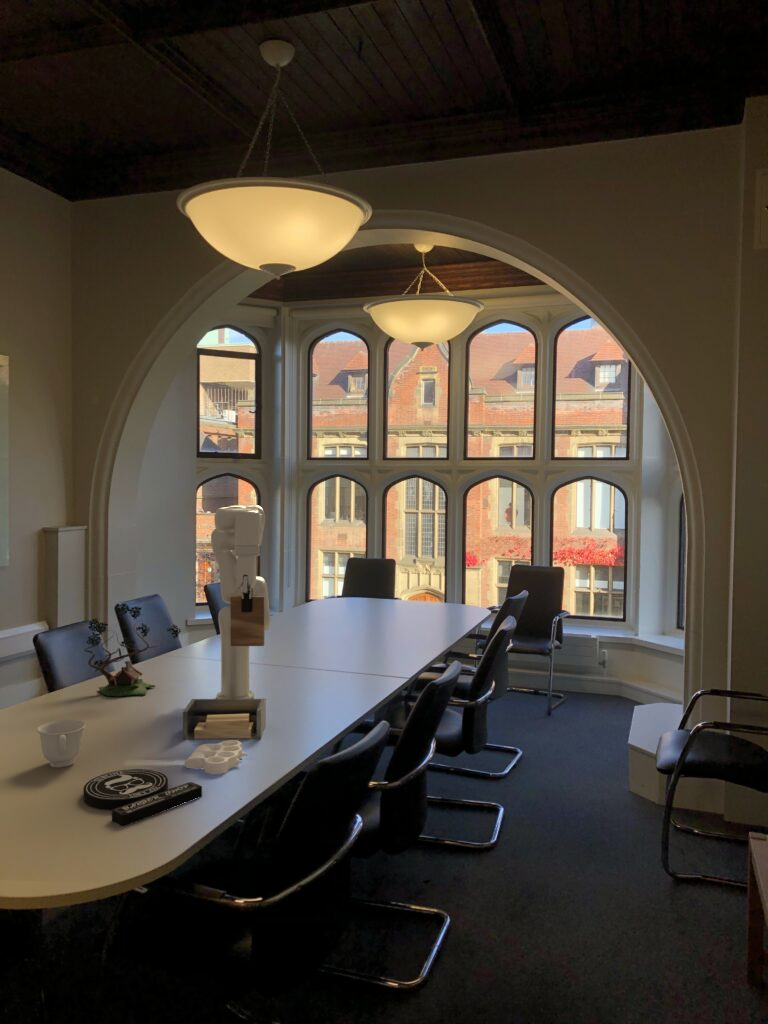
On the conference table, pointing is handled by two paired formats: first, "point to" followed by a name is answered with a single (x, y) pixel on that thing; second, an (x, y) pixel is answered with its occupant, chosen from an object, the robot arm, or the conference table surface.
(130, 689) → the bonsai tree
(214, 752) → the white brass knuckles
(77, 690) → the conference table surface
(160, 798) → the decorative sign
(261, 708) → the rack
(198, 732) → the offcut lower
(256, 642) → the wooden plank
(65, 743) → the teacup
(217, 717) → the offcut upper
